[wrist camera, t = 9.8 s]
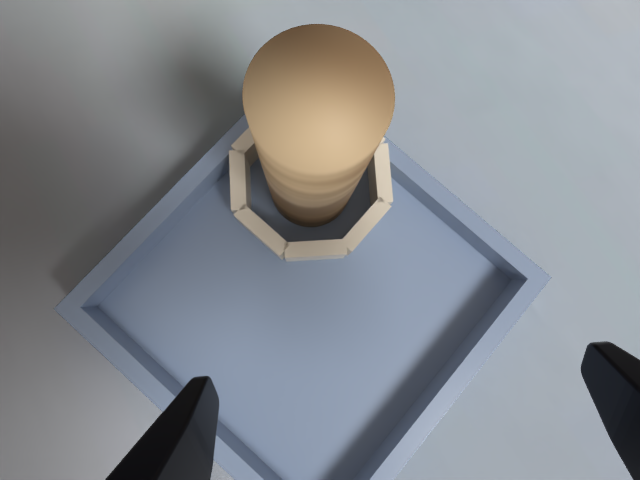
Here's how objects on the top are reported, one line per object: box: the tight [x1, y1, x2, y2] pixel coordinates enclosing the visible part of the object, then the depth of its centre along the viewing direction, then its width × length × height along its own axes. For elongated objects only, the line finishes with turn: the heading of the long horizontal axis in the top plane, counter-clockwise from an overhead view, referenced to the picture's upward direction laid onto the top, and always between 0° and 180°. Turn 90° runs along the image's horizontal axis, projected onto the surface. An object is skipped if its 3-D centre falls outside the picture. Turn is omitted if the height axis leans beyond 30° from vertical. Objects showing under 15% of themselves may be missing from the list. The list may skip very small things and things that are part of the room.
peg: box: [242, 24, 395, 227], centre depth 16 cm, size 4×4×10 cm
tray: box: [54, 114, 551, 480], centre depth 19 cm, size 16×16×2 cm
